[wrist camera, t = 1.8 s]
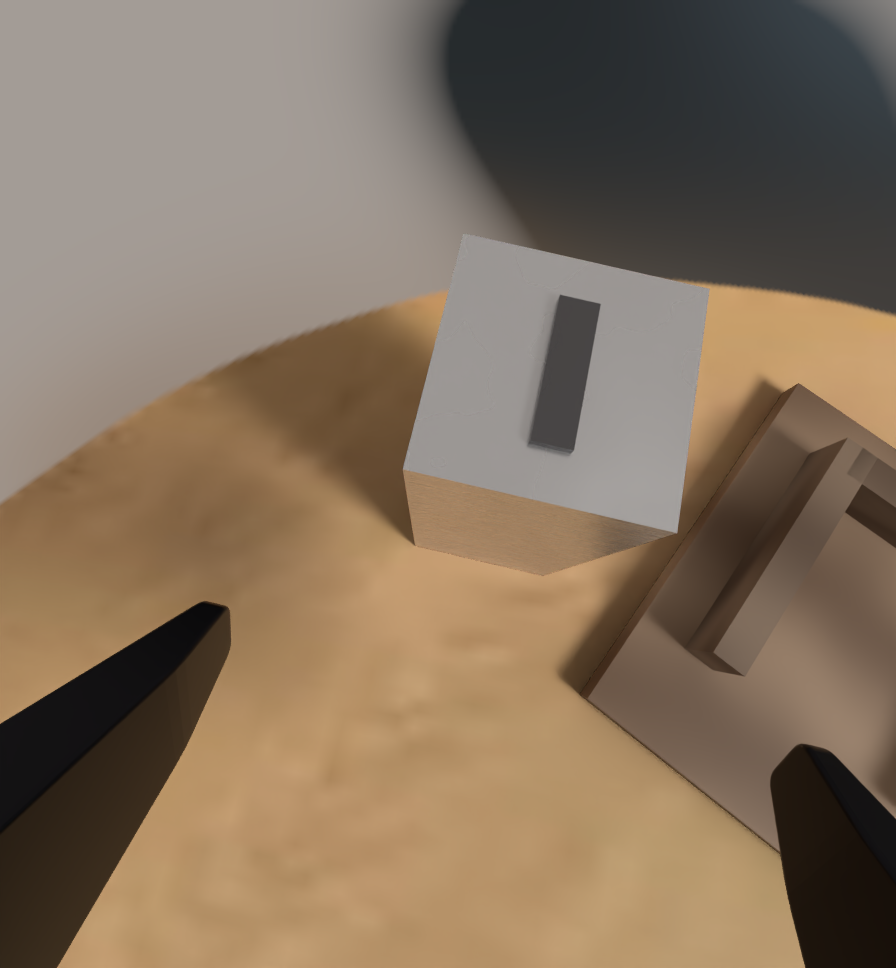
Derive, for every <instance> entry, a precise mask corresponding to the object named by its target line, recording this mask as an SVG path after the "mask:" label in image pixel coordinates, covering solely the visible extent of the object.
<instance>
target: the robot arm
mask: <svg viewBox="0 0 896 968" xmlns="http://www.w3.org/2000/svg"><path fill="white" fill-rule="evenodd" d="M230 646H231V625H230V610H229V608H228V607H227V606H225V605H220V604H216V603H212V602H207V601H203V602H200V603H198V604H196V605H194V606H193V607H191V608H189V609H188V610H186V611H184V612H183V613H181V614H179V615H178V616H176V617H175V618H173V619H171V620H170V621H168V622H166V623H165V624H163V625H161V626H160V627H158V628H157V629H155V630H153V631H152V632H150V633H148V634H147V635H145V636H143V637H142V638H140V639H138V640H137V641H135V642H134V643H132V644H130V645H129V646H127V647H125V648H124V649H122V650H120V651H119V652H117V653H116V654H114V655H112V656H111V657H109V658H107V659H106V660H104V661H102V662H101V663H99V664H98V665H96V666H94V667H93V668H91V669H89V670H88V671H86V672H84V673H83V674H81V675H79V676H78V677H76V678H75V679H73V680H71V681H70V682H68V683H66V684H65V685H63V686H61V687H60V688H58V689H57V690H55V691H53V692H52V693H50V694H48V695H47V696H45V697H43V698H42V699H40V700H39V701H37V702H35V703H34V704H32V705H30V706H29V707H27V708H25V709H24V710H22V711H20V712H19V713H17V714H16V715H14V716H12V717H11V718H9V719H7V720H6V721H4V722H2V723H1V724H0V968H57V967H58V965H59V963H60V962H61V960H62V958H63V956H64V955H65V953H66V951H67V950H68V948H69V946H70V945H71V943H72V941H73V939H74V938H75V936H76V934H77V933H78V931H79V929H80V928H81V926H82V924H83V922H84V921H85V919H86V917H87V916H88V914H89V912H90V911H91V909H92V907H93V905H94V904H95V902H96V900H97V899H98V897H99V895H100V894H101V892H102V890H103V888H104V887H105V885H106V883H107V882H108V880H109V878H110V876H111V875H112V873H113V871H114V870H115V868H116V866H117V865H118V863H119V861H120V859H121V858H122V856H123V854H124V853H125V851H126V849H127V848H128V846H129V844H130V842H131V841H132V839H133V837H134V836H135V834H136V832H137V831H138V829H139V827H140V825H141V824H142V822H143V820H144V819H145V817H146V815H147V814H148V812H149V810H150V808H151V807H152V805H153V803H154V802H155V800H156V798H157V796H158V795H159V793H160V791H161V790H162V788H163V786H164V785H165V783H166V781H167V779H168V778H169V776H170V774H171V773H172V771H173V769H174V768H175V766H176V764H177V762H178V761H179V759H180V757H181V755H182V753H183V751H184V750H185V748H186V746H187V744H188V741H189V739H190V737H191V735H192V733H193V731H194V729H195V727H196V724H197V722H198V720H199V718H200V716H201V713H202V711H203V709H204V707H205V705H206V702H207V700H208V698H209V696H210V694H211V691H212V689H213V687H214V685H215V683H216V680H217V678H218V676H219V674H220V672H221V669H222V667H223V665H224V663H225V661H226V658H227V656H228V653H229V650H230ZM770 790H771V797H772V803H773V810H774V816H775V823H776V829H777V835H778V842H779V848H780V855H781V861H782V867H783V874H784V880H785V885H786V890H787V895H788V900H789V904H790V909H791V913H792V917H793V921H794V925H795V929H796V933H797V937H798V941H799V945H800V949H801V953H802V957H803V961H804V964H805V968H896V818H895V817H894V816H893V815H892V814H891V813H890V812H889V811H888V810H887V809H886V808H885V807H884V806H883V805H882V804H881V803H880V802H879V801H878V800H877V798H876V797H875V796H874V795H873V794H872V793H871V792H870V791H869V790H868V789H867V788H866V787H865V786H864V785H863V784H862V783H861V782H860V781H859V780H858V779H857V778H856V777H855V776H854V774H853V773H852V772H851V771H850V770H849V769H848V768H847V767H846V766H845V765H844V764H843V763H842V762H841V761H840V760H839V759H838V758H837V757H836V756H835V755H834V754H833V753H832V752H830V751H829V750H827V749H824V748H821V747H817V746H813V745H808V744H802V743H801V744H798V745H796V746H795V747H794V748H793V749H792V750H791V751H790V752H789V753H788V754H787V755H786V757H785V758H784V759H783V760H782V761H781V762H780V763H779V764H778V765H777V767H776V768H775V769H774V770H773V772H772V774H771V778H770Z"/></svg>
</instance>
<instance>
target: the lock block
mask: <svg viewBox="0 0 896 968" xmlns="http://www.w3.org/2000/svg"><path fill="white" fill-rule="evenodd" d="M708 296H709V289H708V288H703V287H699V286H694V285H690V284H686V283H681V282H677V281H672V280H668V279H663V278H659V277H654V276H650V275H646V274H641V273H637V272H632V271H628V270H624V269H619V268H615V267H610V266H606V265H601V264H597V263H592V262H588V261H584V260H579V259H575V258H571V257H566V256H562V255H557V254H552V253H548V252H544V251H539V250H535V249H530V248H526V247H522V246H517V245H513V244H509V243H504V242H500V241H495V240H491V239H486V238H482V237H477V236H473V235H469V234H463V237H462V241H461V245H460V249H459V254H458V257H457V261H456V265H455V269H454V272H453V276H452V280H451V284H450V288H449V292H448V296H447V299H446V303H445V307H444V311H443V315H442V319H441V323H440V327H439V330H438V334H437V338H436V342H435V346H434V350H433V354H432V358H431V361H430V365H429V369H428V373H427V377H426V381H425V385H424V389H423V392H422V396H421V400H420V404H419V408H418V412H417V416H416V420H415V423H414V427H413V431H412V435H411V439H410V443H409V447H408V451H407V454H406V458H405V462H404V466H403V474H404V480H405V487H406V493H407V499H408V505H409V511H410V518H411V524H412V530H413V536H414V542H415V546H417V547H422V548H426V549H430V550H435V551H439V552H443V553H447V554H452V555H456V556H460V557H464V558H469V559H473V560H477V561H481V562H486V563H490V564H494V565H498V566H503V567H507V568H511V569H515V570H520V571H524V572H528V573H533V574H537V575H541V576H545V575H548V574H551V573H554V572H557V571H560V570H563V569H567V568H570V567H573V566H576V565H579V564H582V563H585V562H588V561H592V560H595V559H598V558H601V557H604V556H607V555H610V554H613V553H617V552H620V551H623V550H626V549H629V548H632V547H635V546H638V545H642V544H645V543H648V542H651V541H654V540H657V539H660V538H663V537H667V536H670V535H673V534H676V533H677V531H678V523H679V516H680V508H681V501H682V493H683V486H684V478H685V470H686V463H687V455H688V448H689V440H690V433H691V425H692V417H693V410H694V402H695V395H696V387H697V380H698V372H699V365H700V357H701V349H702V342H703V334H704V327H705V319H706V312H707V304H708Z"/></svg>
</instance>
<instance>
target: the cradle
mask: <svg viewBox="0 0 896 968" xmlns="http://www.w3.org/2000/svg"><path fill="white" fill-rule="evenodd" d="M580 695H581V696H582V697H583V698H585V699H586V700H587V701H588V702H590V703H591V704H592V705H593V706H595V707H596V708H597V709H598V710H600V711H601V712H602V713H603V714H605V715H606V716H607V717H608V718H610V719H611V720H612V721H613V722H615V723H616V724H617V725H619V726H620V727H621V728H622V729H624V730H625V731H626V732H627V733H629V734H630V735H631V736H632V737H634V738H635V739H636V740H637V741H639V742H640V743H641V744H642V745H644V746H645V747H646V748H647V749H649V750H650V751H651V752H652V753H654V754H655V755H656V756H657V757H659V758H660V759H661V760H663V761H664V762H665V763H666V764H668V765H669V766H670V767H671V768H673V769H674V770H675V771H676V772H678V773H679V774H680V775H681V776H683V777H684V778H685V779H686V780H688V781H689V782H690V783H691V784H693V785H694V786H695V787H696V788H698V789H699V790H700V791H701V792H703V793H704V794H705V795H707V796H708V797H709V798H710V799H712V800H713V801H714V802H715V803H717V804H718V805H719V806H720V807H722V808H723V809H724V810H725V811H727V812H728V813H729V814H730V815H732V816H733V817H734V818H735V819H737V820H738V821H739V822H740V823H742V824H743V825H744V826H745V827H747V828H748V829H749V830H751V831H752V832H753V833H754V834H756V835H757V836H758V837H759V838H761V839H762V840H763V841H764V842H766V843H767V844H768V845H769V846H771V847H772V848H773V849H774V850H776V851H777V852H778V853H779V854H780V848H779V842H778V835H777V829H776V823H775V816H774V810H773V803H772V797H771V790H770V778H771V774H772V772H773V770H774V769H775V768H776V767H777V765H778V764H779V763H780V762H781V761H782V760H783V759H784V758H785V757H786V755H787V754H788V753H789V752H790V751H791V750H792V749H793V748H794V747H795V746H796V745H798V744H801V743H802V744H808V745H813V746H817V747H821V748H824V749H827V750H829V751H830V752H832V753H833V754H834V755H835V756H836V757H837V758H838V759H839V760H840V761H841V762H842V763H843V764H844V765H845V766H846V767H847V768H848V769H849V770H850V771H851V772H852V773H853V774H854V776H855V777H856V778H857V779H858V780H859V781H860V782H861V783H862V784H863V785H864V786H865V787H866V788H867V789H868V790H869V791H870V792H871V793H872V794H873V795H874V796H875V797H876V798H877V800H878V801H879V802H880V803H881V804H882V805H883V806H884V807H885V808H886V809H887V810H888V811H889V812H890V813H891V814H892V815H893V816H894V817H895V818H896V449H895V448H893V447H892V446H890V445H889V444H887V443H886V442H884V441H883V440H881V439H880V438H878V437H877V436H875V435H874V434H873V433H871V432H870V431H868V430H867V429H865V428H864V427H862V426H861V425H859V424H858V423H856V422H855V421H853V420H852V419H851V418H849V417H848V416H846V415H845V414H843V413H842V412H840V411H839V410H837V409H836V408H834V407H833V406H832V405H830V404H829V403H827V402H826V401H824V400H823V399H821V398H820V397H818V396H817V395H815V394H814V393H812V392H811V391H810V390H808V389H807V388H805V387H804V386H802V385H801V384H799V383H798V384H797V385H795V386H793V387H792V388H790V389H788V390H787V391H785V392H784V393H783V394H782V395H781V397H780V398H779V400H778V401H777V402H776V404H775V405H774V407H773V408H772V410H771V411H770V413H769V414H768V416H767V417H766V419H765V420H764V422H763V423H762V425H761V426H760V428H759V429H758V431H757V432H756V434H755V435H754V437H753V438H752V440H751V441H750V443H749V444H748V445H747V447H746V448H745V450H744V451H743V453H742V454H741V456H740V457H739V459H738V460H737V462H736V463H735V465H734V466H733V468H732V469H731V471H730V472H729V474H728V475H727V477H726V478H725V480H724V481H723V483H722V484H721V486H720V487H719V489H718V490H717V491H716V493H715V494H714V496H713V497H712V499H711V500H710V502H709V503H708V505H707V506H706V508H705V509H704V511H703V512H702V514H701V515H700V517H699V518H698V520H697V521H696V523H695V524H694V526H693V527H692V529H691V530H690V532H689V533H688V535H687V536H686V537H685V539H684V540H683V542H682V543H681V545H680V546H679V548H678V549H677V551H676V552H675V554H674V555H673V557H672V558H671V560H670V561H669V563H668V564H667V566H666V567H665V569H664V570H663V572H662V573H661V575H660V576H659V578H658V579H657V580H656V582H655V583H654V585H653V586H652V588H651V589H650V591H649V592H648V594H647V595H646V597H645V598H644V600H643V601H642V603H641V604H640V606H639V607H638V609H637V610H636V612H635V613H634V615H633V616H632V618H631V619H630V621H629V622H628V624H627V625H626V626H625V628H624V629H623V631H622V632H621V634H620V635H619V637H618V638H617V640H616V641H615V643H614V644H613V646H612V647H611V649H610V650H609V652H608V653H607V655H606V656H605V658H604V659H603V661H602V662H601V664H600V665H599V667H598V668H597V669H596V671H595V672H594V674H593V675H592V677H591V678H590V680H589V681H588V683H587V684H586V686H585V687H584V689H583V690H582V692H581V693H580Z"/></svg>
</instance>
